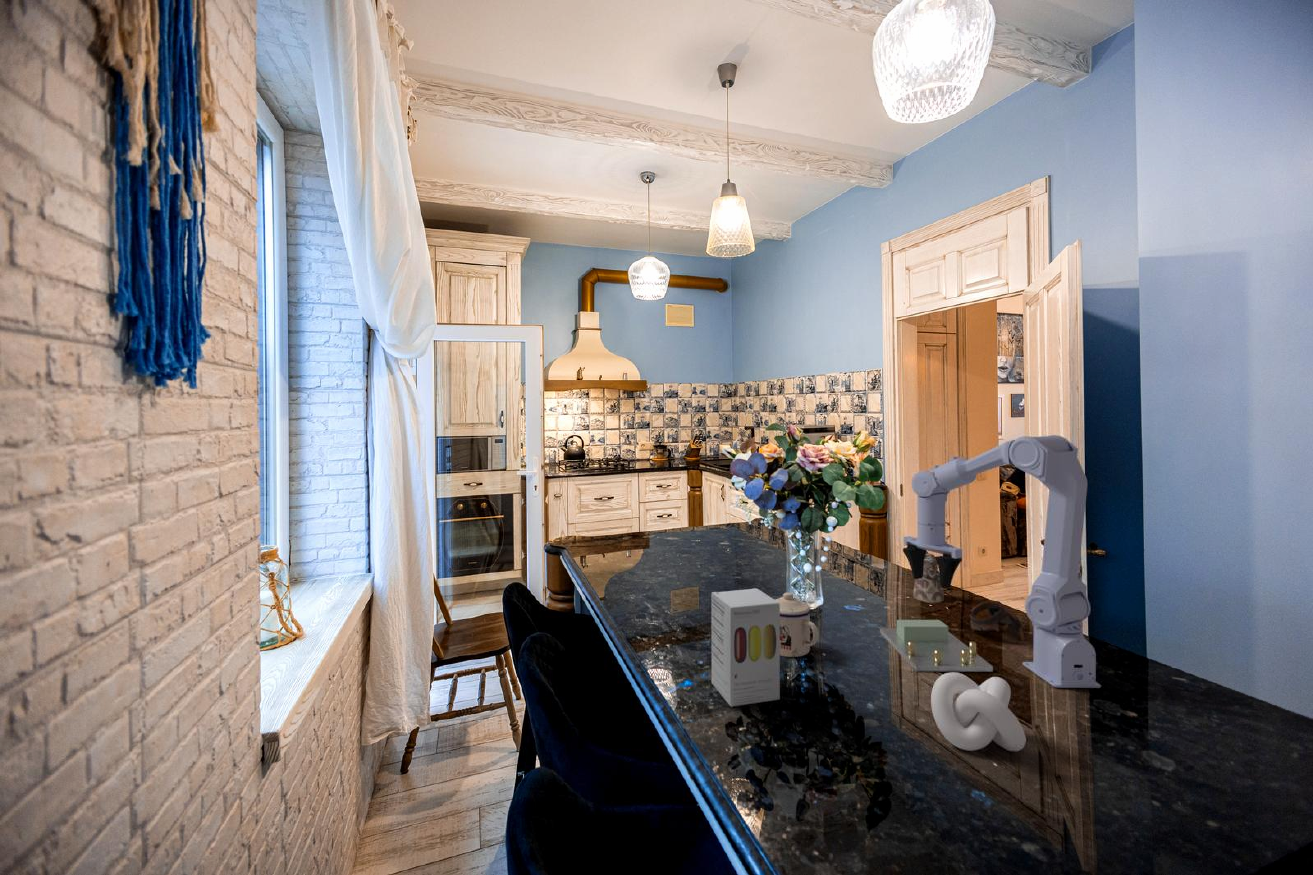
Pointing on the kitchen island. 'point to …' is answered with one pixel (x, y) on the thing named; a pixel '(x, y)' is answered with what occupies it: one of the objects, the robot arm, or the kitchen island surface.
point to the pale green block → (922, 630)
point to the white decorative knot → (975, 713)
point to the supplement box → (746, 646)
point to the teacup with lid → (795, 627)
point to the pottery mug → (995, 618)
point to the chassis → (938, 654)
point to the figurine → (929, 582)
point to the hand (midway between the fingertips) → (931, 582)
